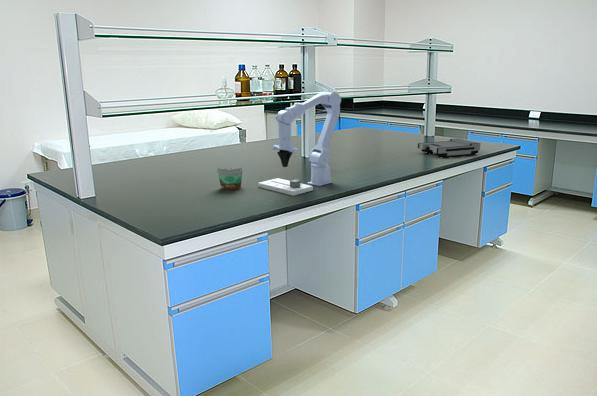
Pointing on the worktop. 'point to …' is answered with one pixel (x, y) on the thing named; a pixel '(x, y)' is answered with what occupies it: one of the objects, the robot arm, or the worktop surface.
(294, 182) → the fader tab
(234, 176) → the food container
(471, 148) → the game console
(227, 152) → the worktop surface
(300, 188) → the fader console
